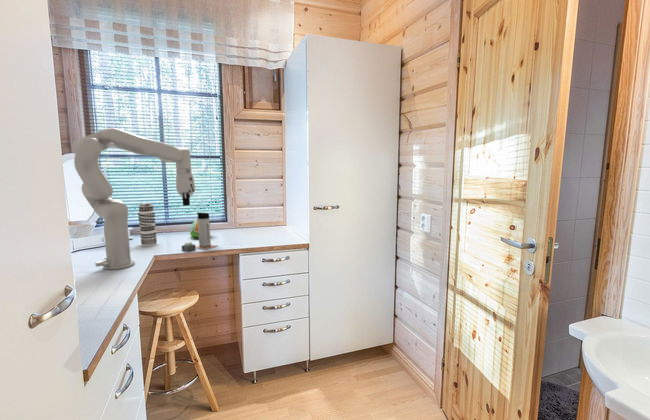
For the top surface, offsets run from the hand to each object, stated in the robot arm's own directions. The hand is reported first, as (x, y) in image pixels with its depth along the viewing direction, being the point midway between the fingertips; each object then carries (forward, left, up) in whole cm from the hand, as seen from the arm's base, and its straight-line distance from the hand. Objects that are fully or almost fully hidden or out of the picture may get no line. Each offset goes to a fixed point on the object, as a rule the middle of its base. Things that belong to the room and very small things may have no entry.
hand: (186, 205), depth 183 cm
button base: (0, 0, -25) cm, 25 cm away
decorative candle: (-2, +33, -26) cm, 42 cm away
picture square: (+10, -2, -25) cm, 27 cm away
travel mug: (+9, -2, -25) cm, 27 cm away
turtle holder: (+27, +23, -26) cm, 44 cm away
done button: (0, 0, -23) cm, 23 cm away
